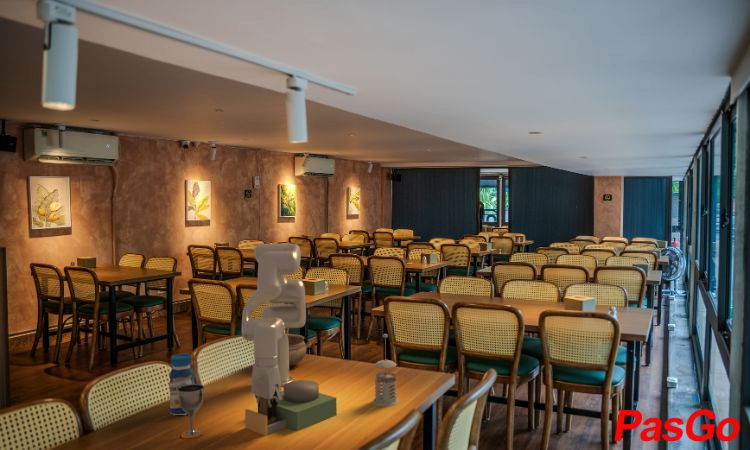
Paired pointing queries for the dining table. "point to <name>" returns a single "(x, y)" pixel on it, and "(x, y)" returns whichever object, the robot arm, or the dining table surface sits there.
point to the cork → (265, 410)
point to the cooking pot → (296, 348)
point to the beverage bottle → (179, 380)
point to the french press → (387, 387)
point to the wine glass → (191, 402)
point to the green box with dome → (295, 409)
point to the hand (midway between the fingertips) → (267, 415)
